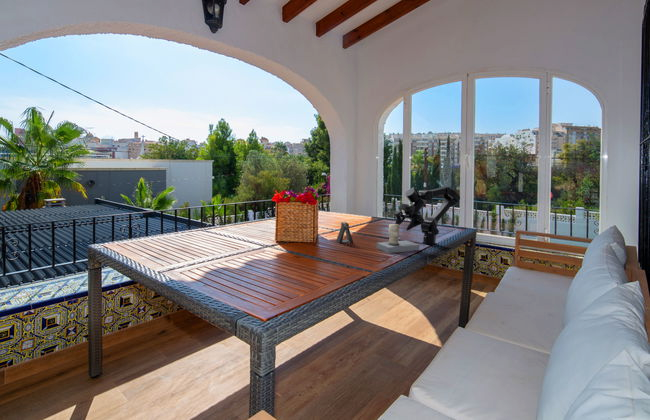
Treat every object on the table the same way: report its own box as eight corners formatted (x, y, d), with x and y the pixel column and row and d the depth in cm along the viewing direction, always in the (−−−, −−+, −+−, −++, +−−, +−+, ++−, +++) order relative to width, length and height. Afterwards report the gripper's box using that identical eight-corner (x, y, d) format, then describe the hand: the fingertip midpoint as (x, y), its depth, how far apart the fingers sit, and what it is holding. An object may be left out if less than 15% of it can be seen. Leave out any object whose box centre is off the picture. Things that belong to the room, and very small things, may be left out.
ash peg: (391, 247, 200) (392, 223, 198) (400, 249, 196) (401, 224, 194) (385, 249, 196) (386, 224, 194) (395, 251, 192) (396, 226, 190)
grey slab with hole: (406, 245, 206) (406, 240, 206) (419, 250, 195) (419, 244, 195) (376, 248, 199) (376, 242, 198) (388, 253, 188) (388, 247, 187)
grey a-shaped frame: (350, 240, 218) (350, 221, 217) (353, 242, 212) (353, 222, 211) (336, 241, 216) (336, 221, 214) (338, 243, 210) (339, 223, 209)
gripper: (397, 197, 206) (382, 217, 201) (421, 200, 190) (406, 221, 186) (406, 209, 211) (392, 229, 207) (430, 213, 195) (415, 234, 191)
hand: (400, 228), depth 197 cm, fingers open, 9 cm apart
